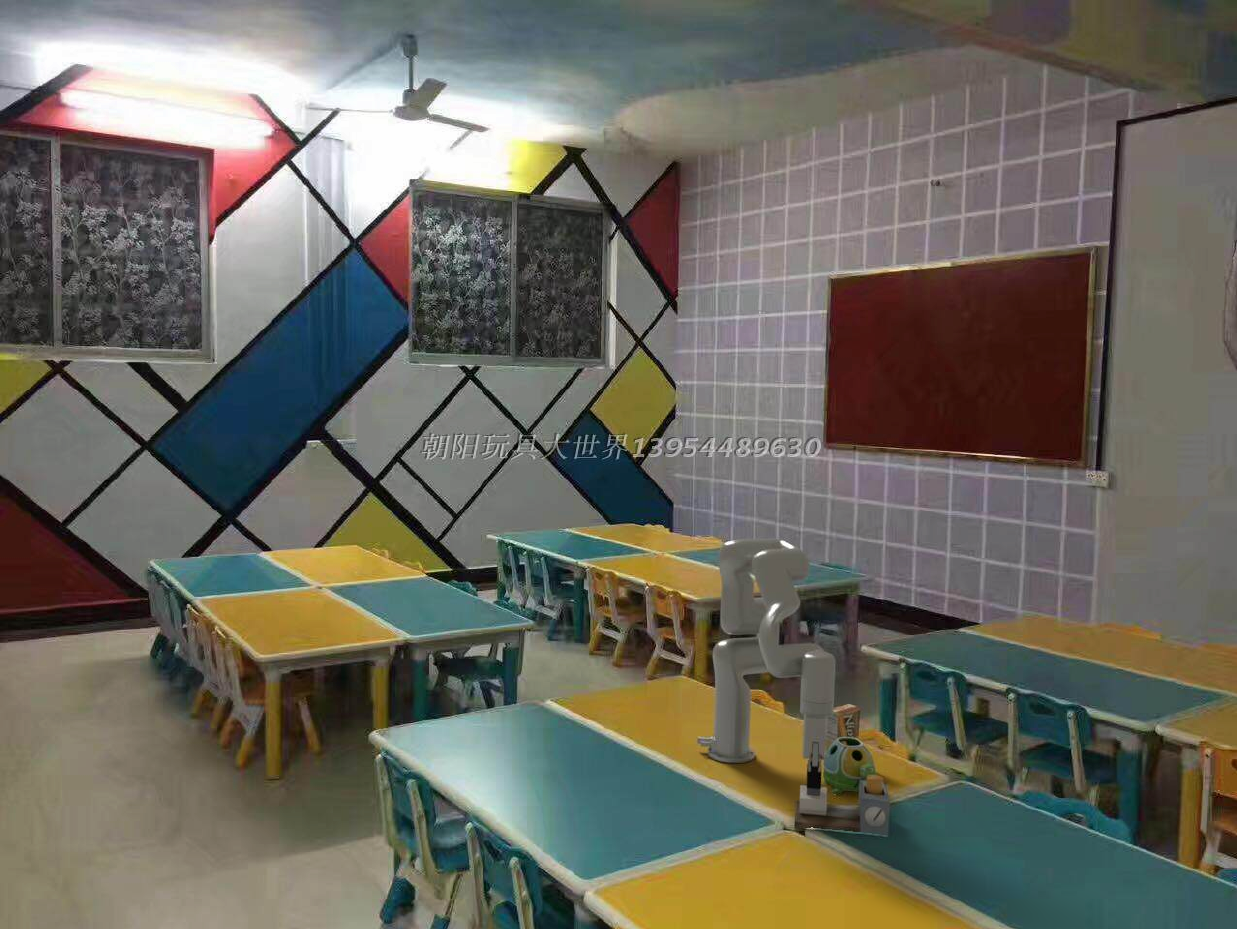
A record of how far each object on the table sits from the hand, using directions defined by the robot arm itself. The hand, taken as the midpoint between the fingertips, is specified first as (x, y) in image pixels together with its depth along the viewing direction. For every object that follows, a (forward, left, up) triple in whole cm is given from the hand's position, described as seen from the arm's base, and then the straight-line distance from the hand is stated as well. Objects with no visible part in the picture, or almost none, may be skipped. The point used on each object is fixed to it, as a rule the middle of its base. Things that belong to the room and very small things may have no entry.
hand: (813, 784), depth 238 cm
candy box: (+8, +37, -8) cm, 39 cm away
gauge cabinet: (+14, 0, -8) cm, 16 cm away
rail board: (+3, 0, -8) cm, 9 cm away
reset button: (+14, 0, -1) cm, 14 cm away
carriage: (0, 0, -6) cm, 6 cm away
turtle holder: (+10, +20, -9) cm, 24 cm away
